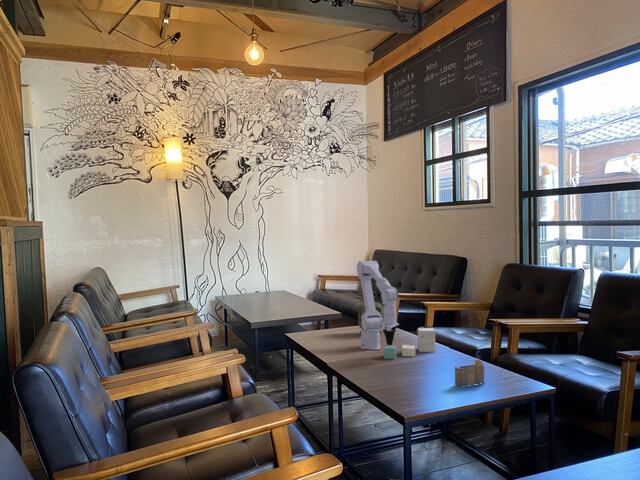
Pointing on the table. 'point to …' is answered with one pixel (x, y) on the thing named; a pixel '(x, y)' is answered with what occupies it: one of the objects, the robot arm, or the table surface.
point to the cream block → (408, 350)
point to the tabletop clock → (362, 310)
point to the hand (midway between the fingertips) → (390, 342)
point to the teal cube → (389, 352)
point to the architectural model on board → (469, 374)
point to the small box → (426, 340)
